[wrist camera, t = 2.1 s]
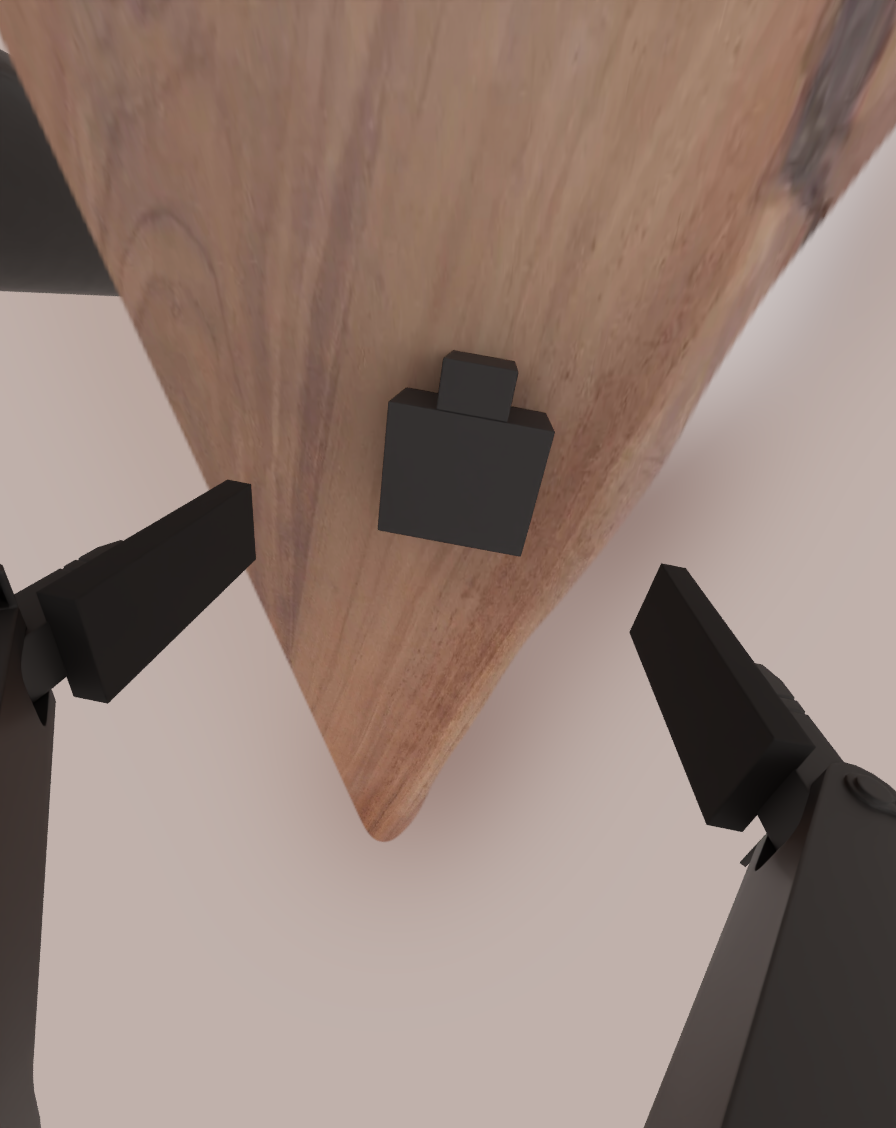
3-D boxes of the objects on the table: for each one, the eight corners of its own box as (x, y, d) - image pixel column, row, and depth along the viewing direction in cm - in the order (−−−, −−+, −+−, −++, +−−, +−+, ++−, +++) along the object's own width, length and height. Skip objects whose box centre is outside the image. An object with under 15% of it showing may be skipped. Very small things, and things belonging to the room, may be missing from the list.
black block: (394, 500, 25) (377, 530, 21) (410, 342, 21) (392, 347, 17) (517, 523, 25) (520, 557, 21) (557, 369, 21) (569, 380, 17)
